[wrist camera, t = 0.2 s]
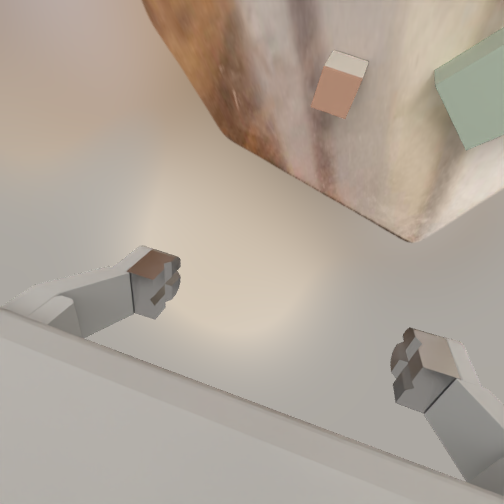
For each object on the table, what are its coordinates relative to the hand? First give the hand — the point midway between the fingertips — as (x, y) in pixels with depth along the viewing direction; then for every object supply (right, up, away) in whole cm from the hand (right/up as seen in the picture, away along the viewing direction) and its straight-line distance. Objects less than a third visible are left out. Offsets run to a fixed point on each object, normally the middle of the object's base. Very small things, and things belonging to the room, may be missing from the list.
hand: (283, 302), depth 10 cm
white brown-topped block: (+15, +32, +39) cm, 53 cm away
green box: (+35, +28, +33) cm, 55 cm away
